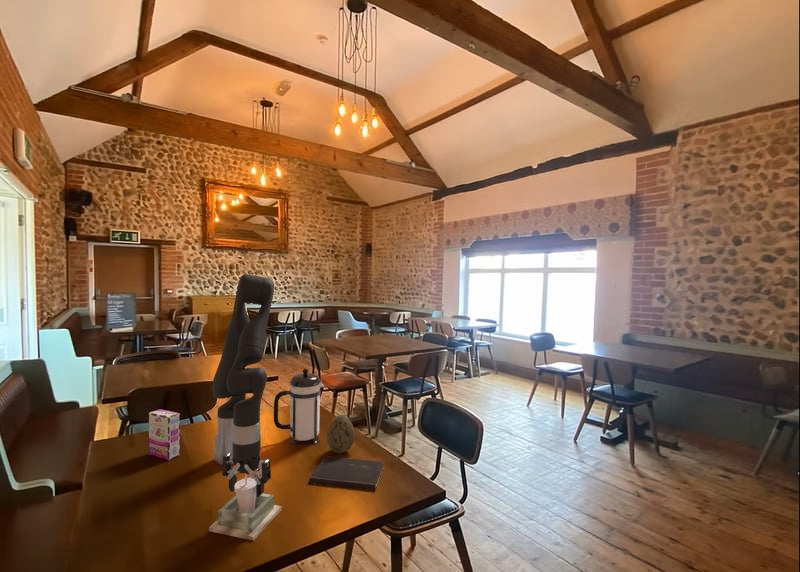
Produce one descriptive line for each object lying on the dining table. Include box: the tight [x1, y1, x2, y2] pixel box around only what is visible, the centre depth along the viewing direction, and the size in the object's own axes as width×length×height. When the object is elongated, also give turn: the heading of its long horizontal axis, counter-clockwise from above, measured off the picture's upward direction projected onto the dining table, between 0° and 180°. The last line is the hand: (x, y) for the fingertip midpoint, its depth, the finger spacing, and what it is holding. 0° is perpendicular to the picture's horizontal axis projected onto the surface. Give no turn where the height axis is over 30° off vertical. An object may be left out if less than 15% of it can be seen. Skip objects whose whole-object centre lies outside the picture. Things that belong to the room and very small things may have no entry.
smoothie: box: [233, 473, 257, 514], centre depth 113 cm, size 6×6×14 cm
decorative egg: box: [326, 414, 356, 454], centre depth 156 cm, size 11×11×15 cm
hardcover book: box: [308, 455, 386, 492], centre depth 139 cm, size 16×23×2 cm
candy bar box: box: [148, 408, 181, 461], centre depth 150 cm, size 11×5×16 cm, turn 68°
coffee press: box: [273, 368, 325, 446], centre depth 166 cm, size 17×16×30 cm
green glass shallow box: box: [208, 492, 283, 541], centre depth 113 cm, size 14×14×5 cm
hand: (246, 492), depth 113 cm, fingers open, 8 cm apart
